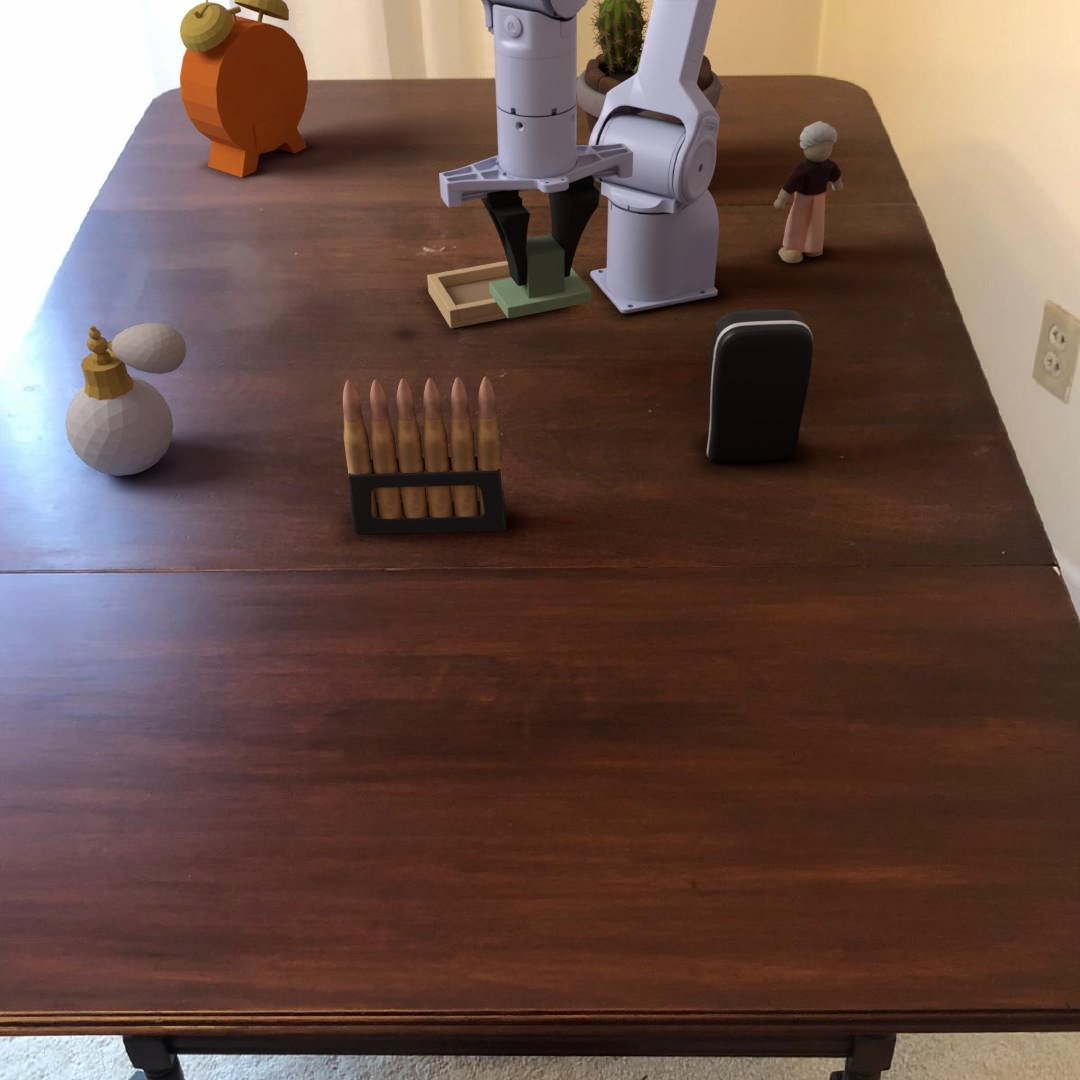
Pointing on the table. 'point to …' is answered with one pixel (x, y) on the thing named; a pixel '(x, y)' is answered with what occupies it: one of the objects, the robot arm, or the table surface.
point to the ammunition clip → (424, 463)
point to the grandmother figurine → (809, 194)
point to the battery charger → (758, 385)
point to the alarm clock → (242, 83)
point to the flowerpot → (625, 60)
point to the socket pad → (468, 294)
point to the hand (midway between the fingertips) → (539, 276)
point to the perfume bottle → (124, 400)
